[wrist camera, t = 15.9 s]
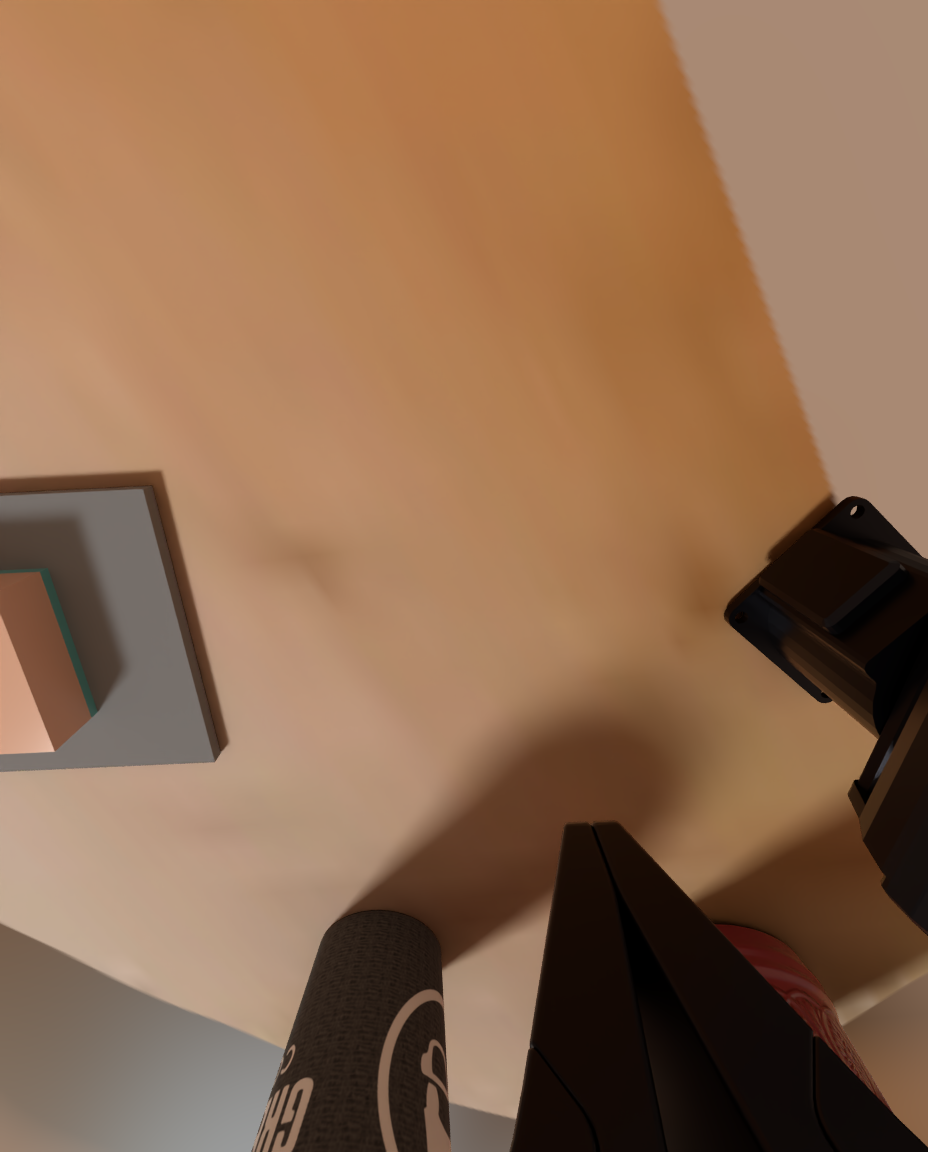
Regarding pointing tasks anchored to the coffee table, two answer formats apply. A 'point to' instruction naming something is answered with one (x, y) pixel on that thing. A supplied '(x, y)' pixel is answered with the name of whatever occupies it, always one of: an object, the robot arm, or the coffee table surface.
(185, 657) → the mat
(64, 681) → the tile
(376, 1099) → the coffee cup
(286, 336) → the coffee table surface
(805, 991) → the canister
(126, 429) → the coffee table surface
